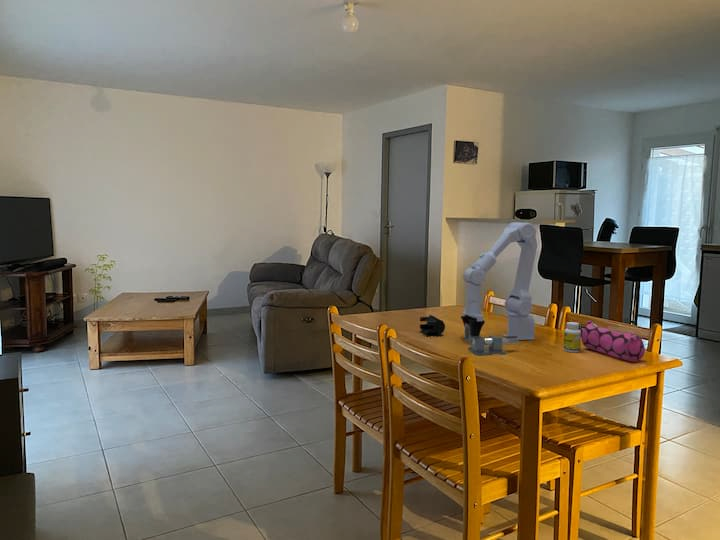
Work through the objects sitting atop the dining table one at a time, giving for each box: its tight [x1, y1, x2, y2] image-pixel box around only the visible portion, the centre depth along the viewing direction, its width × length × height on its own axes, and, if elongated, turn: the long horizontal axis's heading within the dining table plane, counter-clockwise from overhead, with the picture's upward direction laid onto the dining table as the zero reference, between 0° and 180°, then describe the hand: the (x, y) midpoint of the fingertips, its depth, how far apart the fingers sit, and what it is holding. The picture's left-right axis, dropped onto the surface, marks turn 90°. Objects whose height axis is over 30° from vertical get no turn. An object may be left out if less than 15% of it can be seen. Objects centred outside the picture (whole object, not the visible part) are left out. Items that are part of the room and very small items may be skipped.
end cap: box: [419, 314, 446, 338], centre depth 214 cm, size 10×7×7 cm
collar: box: [463, 323, 481, 344], centre depth 202 cm, size 4×5×6 cm
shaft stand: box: [467, 334, 520, 356], centre depth 187 cm, size 16×8×5 cm, turn 100°
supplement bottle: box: [563, 321, 582, 353], centre depth 189 cm, size 5×5×10 cm
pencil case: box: [581, 320, 646, 363], centre depth 184 cm, size 21×10×10 cm, turn 23°
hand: (472, 336), depth 202 cm, fingers open, 6 cm apart
